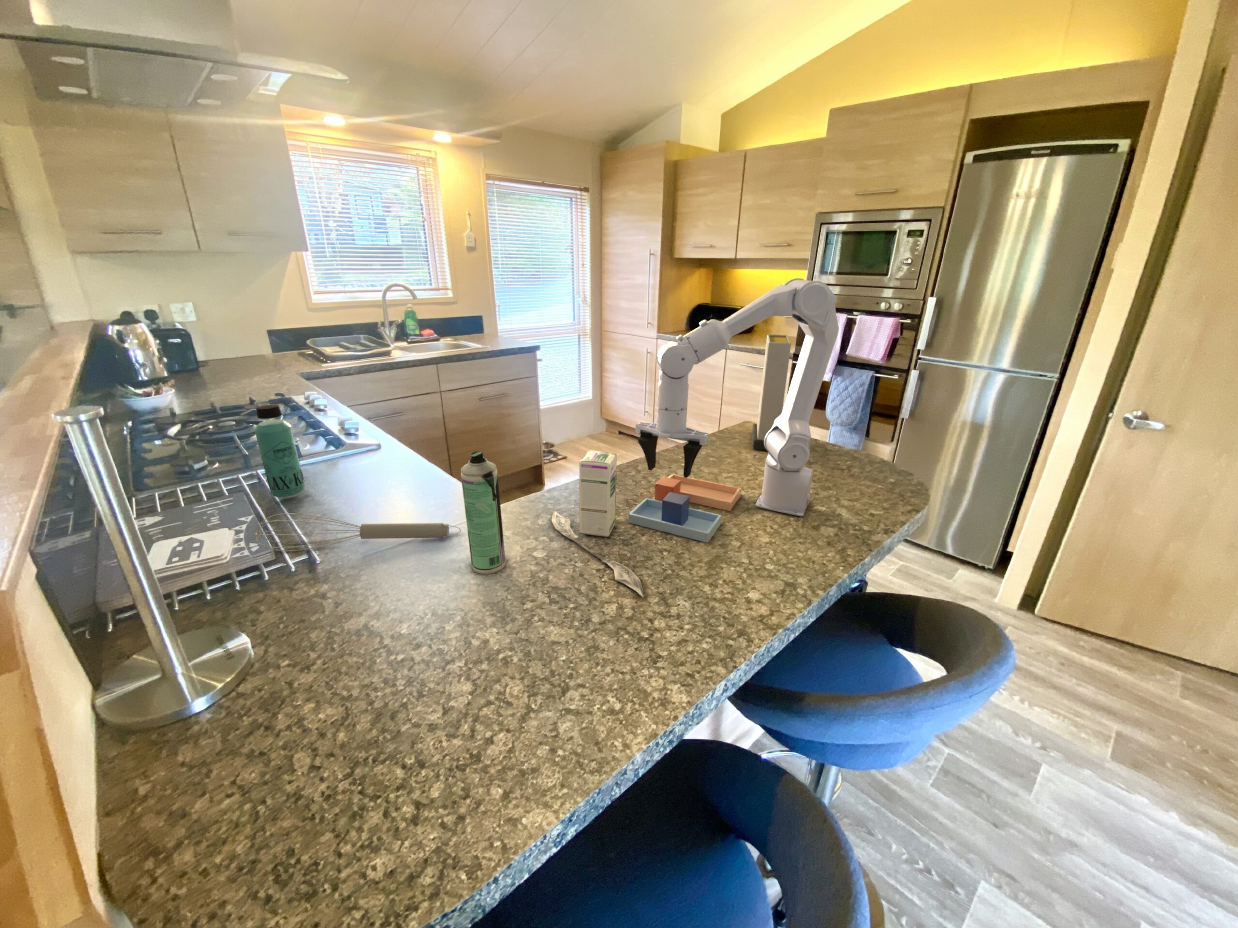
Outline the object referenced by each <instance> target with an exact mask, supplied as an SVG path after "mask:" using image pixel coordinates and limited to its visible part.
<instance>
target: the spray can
mask: <svg viewBox="0 0 1238 928" xmlns="http://www.w3.org/2000/svg"><path fill="white" fill-rule="evenodd" d="M470 457H471V458H470V459H469V460H468V463H466V464H464V465H463V466H461V468H460V479H461V486H462V487H461V488H462V497H463V504H464V512H465V513H464V515H465V520H466V521H465V522H466V530H467V537H468V546H469V553H470V555H469V556H470V562H471V569H472V570H473V571H474V572H475V573H477V574H483V575H488V574H489V575H490V574H494V573H497V572H499V571H501V570H503V568H504V567H505V566H506V550H505V541H504V539H505V538H504V529H503V528H504V527H503V519H502V508H501V496H500V486H499V473H498V469H497V465H496V464H495V463H494V462H492V461H490V460H489V461H488V459H487V458H486V457H485V456H484V453H483V451H480V450H476V451H473V452H472V453H471V455H470Z"/></svg>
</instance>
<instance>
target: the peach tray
mask: <svg viewBox="0 0 1238 928" xmlns="http://www.w3.org/2000/svg"><path fill="white" fill-rule="evenodd" d="M667 478H672V479H676V480H681V486H680V494H681V495H686V496H690V498H689V503H692V504H697V505H701V506H705V507H711V508H713V509H718V510H724V511H728V512H731V510H732V509H733V507H735V505H736V503H737V502H738V500H739V499H740V497H741V496H742V487H738V486H734V485H728V484H724V483H719V482H715V481H710V480H705V479H699V478H694V477H691V476H688V477H687V478H685V477H684V475H679V474H675V473H671V474H670V475H669V476H668V477H667Z"/></svg>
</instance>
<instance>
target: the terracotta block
mask: <svg viewBox="0 0 1238 928" xmlns="http://www.w3.org/2000/svg"><path fill="white" fill-rule="evenodd" d="M680 486H681V480H676V479H672V478H668V477H666V476H662V477H661V478H659V480H658V481H656V482H655V483H654V500H658V501H662V500H663V499H664V498H665V497H666V496H667V495H668V494H669V493H670V492H672V493H677V494H680Z"/></svg>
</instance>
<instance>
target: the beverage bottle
mask: <svg viewBox="0 0 1238 928" xmlns="http://www.w3.org/2000/svg"><path fill="white" fill-rule="evenodd" d="M255 410H256V417H257V419H260V420H264V421H261V422H259V423H258V424H257V425H256V426H255V428H254V431H253V432H254V433H255V438H256V442H257V445H258V449H259V453H260V459H261V463H262V468H263V471H264V477H265V478H266V480H265V481H266V484H267V486H268V489H269V493H270V494H271V496H272V497H276V498H285V497H292V496H295V495H298V494H300V493H302V492H304V490H305V487H306V484H305V482H306V481H305V478H304V474H303V470H302V467H301V461H300V457H299V455H298V451H297V449H298V447H297V446H296V443H295V439H294V435H293V431H292V425H291V424H290V423H289V422H287V421H286V420H283V419H275V418H278V417H281V416H283V412H282V410H281V407H280V405H279V404H277V403H276V404H275V403H270V404H262V405H259V406H257V407H255Z"/></svg>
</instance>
